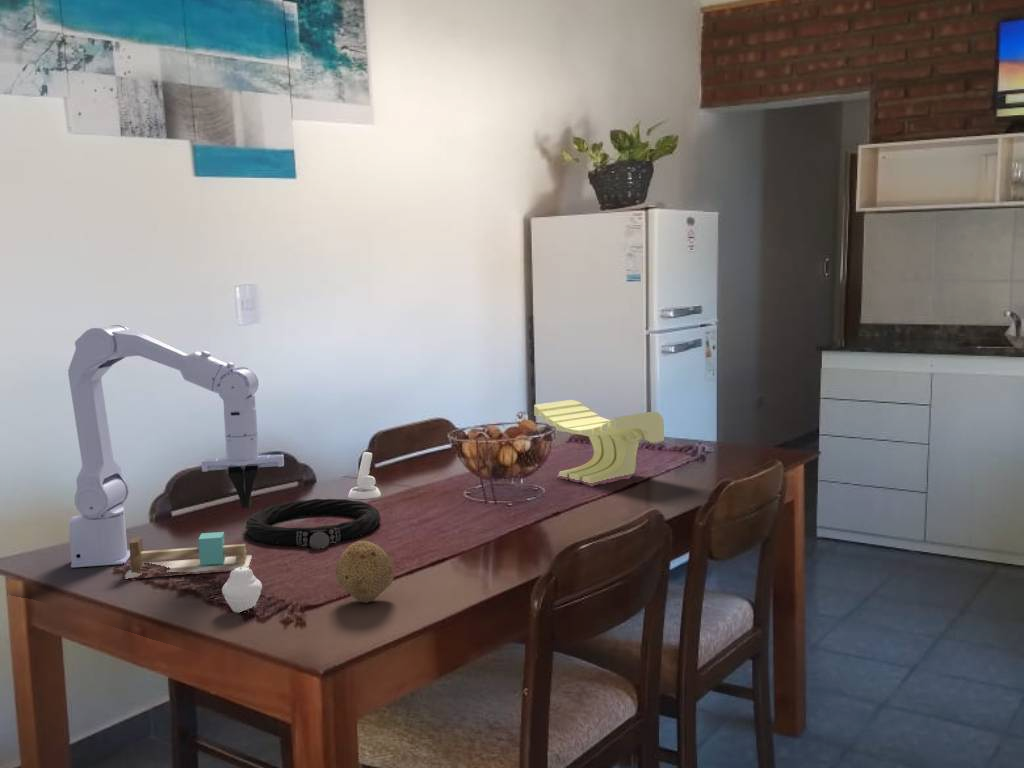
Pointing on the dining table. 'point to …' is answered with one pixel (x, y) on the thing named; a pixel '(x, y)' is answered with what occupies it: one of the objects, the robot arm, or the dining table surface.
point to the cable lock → (312, 535)
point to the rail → (184, 565)
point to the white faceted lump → (242, 589)
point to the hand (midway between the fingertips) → (245, 506)
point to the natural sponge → (364, 571)
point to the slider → (211, 548)
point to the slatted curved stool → (603, 437)
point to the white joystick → (365, 481)
